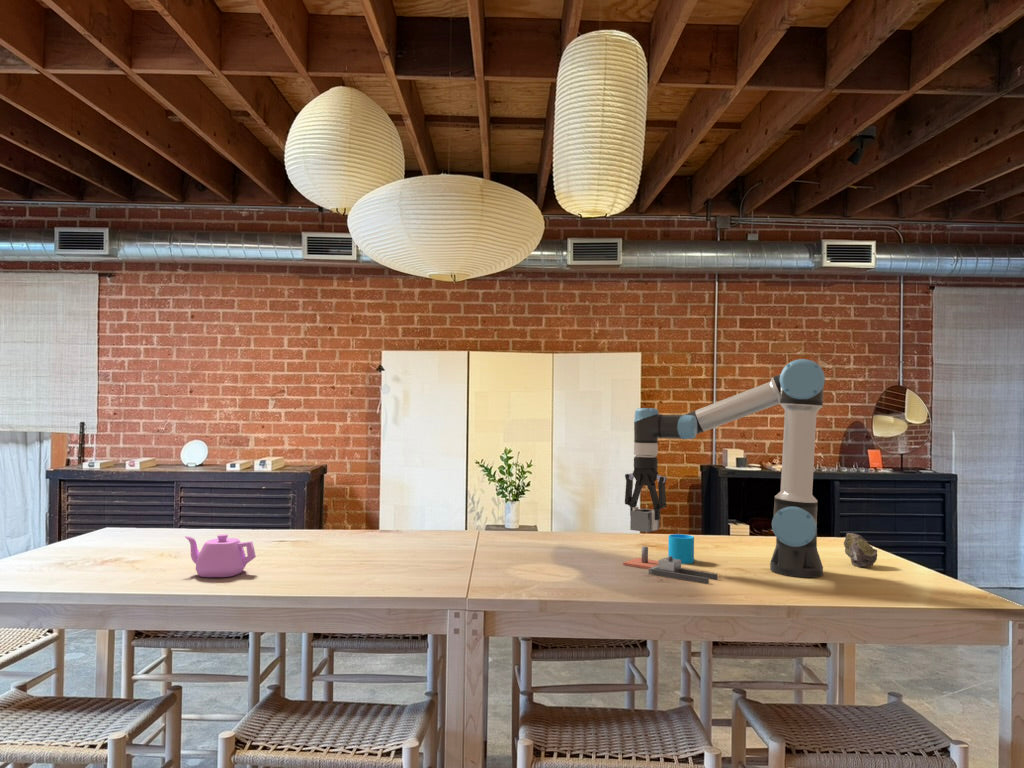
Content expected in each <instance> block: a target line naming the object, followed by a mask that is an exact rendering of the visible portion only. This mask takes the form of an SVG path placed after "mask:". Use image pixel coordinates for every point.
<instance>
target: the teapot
mask: <svg viewBox="0 0 1024 768" xmlns="http://www.w3.org/2000/svg"><path fill="white" fill-rule="evenodd" d="M216 536H217V538H213V539H208V540H207V541H205V542H204V543H203V545H202V547H201V550H200V551H199V549H198V546H197V542H196V540H195V538H193V537H192V536H187V535H186V536H184V538H186V540H188V542H189V544H190V558H191V560H192V562H193V563H194V564H195V572H196V573H197V574H198V576H199V577H202V578H228V577H234V576H237V575H239V574H241V573H242V572H243V571H244V569H245V567H246V566H247V564H249V563H250V562H252V561H253V560H254V559H255V558H256V557H257V554H256V552H255V547H254V542H253V541H245V542H241V540H240V539H239V538H230V537H228V534H225V533H224V534H218V535H216ZM245 547H246V553H247V554H246V553H245V550H244V548H245ZM246 555H247V556H246Z"/></svg>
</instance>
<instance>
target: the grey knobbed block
mask: <svg viewBox="0 0 1024 768" xmlns="http://www.w3.org/2000/svg"><path fill="white" fill-rule="evenodd" d="M658 561H659V562H658V570H663V571H669V572H675V573H681V568H682V564H681V560H679V559H673V557H672V556H668V555H667V556H666V557H664V558H663V557H662V558H660V559H658Z"/></svg>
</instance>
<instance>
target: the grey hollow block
mask: <svg viewBox="0 0 1024 768" xmlns="http://www.w3.org/2000/svg"><path fill="white" fill-rule="evenodd" d="M652 510H653V509H652V508H651V509H649V508H639V509H638V510H633V511H631V516H630V531H636V532H643V533H650V532H653V531H652V530H651V529H652ZM658 530H660V519H659V520H658V525H657V530H656V531H658Z"/></svg>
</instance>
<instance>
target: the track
mask: <svg viewBox="0 0 1024 768" xmlns="http://www.w3.org/2000/svg"><path fill="white" fill-rule="evenodd" d="M648 575H652V576H659V577H665V578H669V579H676V580H681V581H688V582H692V583H693V582H694V583H699V584H705V585H709V583H710V580H715V581H717V580H718V573H713V572H712V573H711V572H706V571H701V570H695V569H687V568H682V567H681V573H675V572H669V571H663V570H658V566H655V567H652V568H650V569H648Z"/></svg>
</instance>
